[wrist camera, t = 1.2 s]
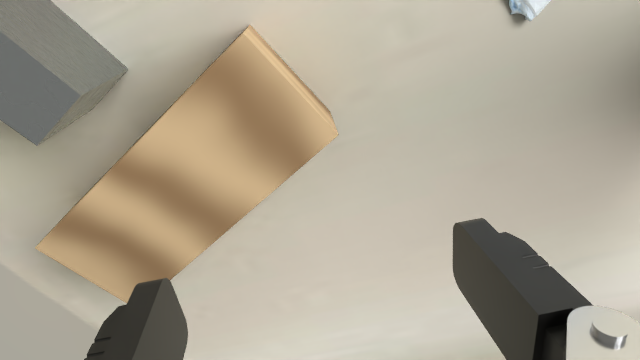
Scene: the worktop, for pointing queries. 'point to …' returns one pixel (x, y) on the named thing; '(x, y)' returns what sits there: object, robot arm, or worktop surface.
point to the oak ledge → (194, 171)
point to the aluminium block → (49, 69)
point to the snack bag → (527, 7)
